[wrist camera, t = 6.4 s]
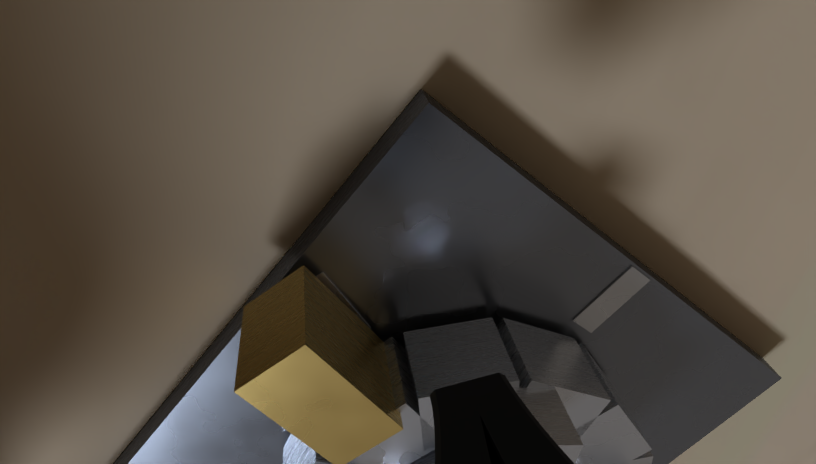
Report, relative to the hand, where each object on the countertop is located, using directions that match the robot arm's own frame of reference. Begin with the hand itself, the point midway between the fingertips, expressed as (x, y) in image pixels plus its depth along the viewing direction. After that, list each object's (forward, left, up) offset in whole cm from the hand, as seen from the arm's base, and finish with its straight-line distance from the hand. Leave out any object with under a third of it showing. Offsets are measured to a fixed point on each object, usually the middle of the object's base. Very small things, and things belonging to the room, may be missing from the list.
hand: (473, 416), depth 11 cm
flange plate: (+6, -5, -7) cm, 10 cm away
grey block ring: (+4, -5, -5) cm, 8 cm away
